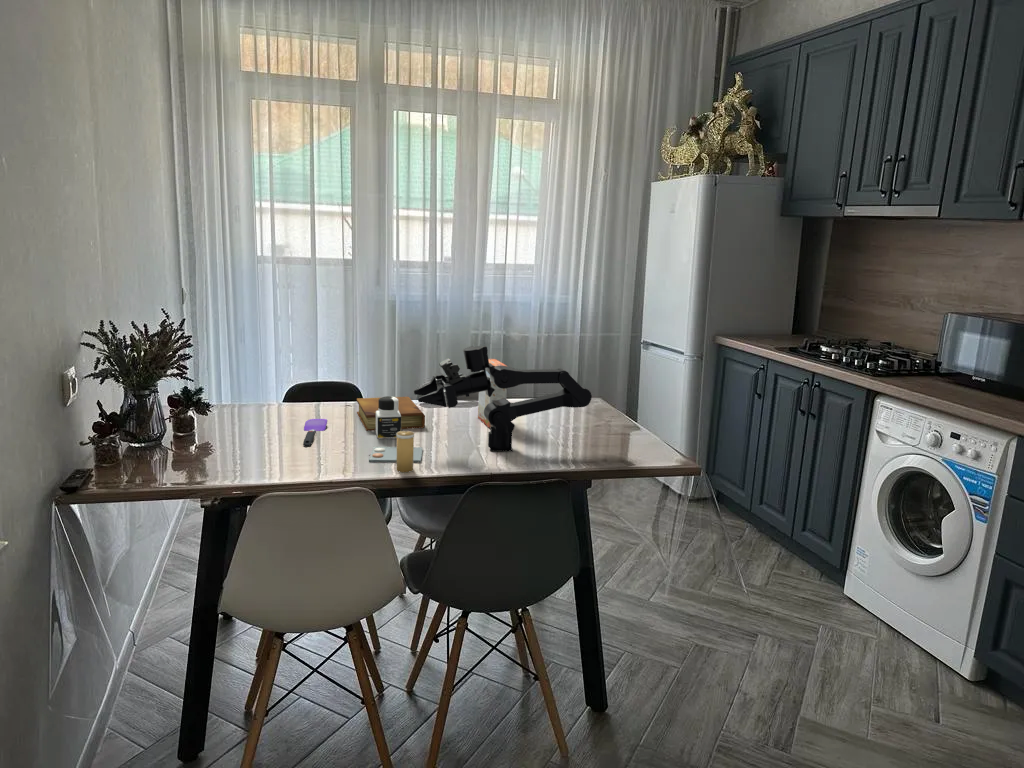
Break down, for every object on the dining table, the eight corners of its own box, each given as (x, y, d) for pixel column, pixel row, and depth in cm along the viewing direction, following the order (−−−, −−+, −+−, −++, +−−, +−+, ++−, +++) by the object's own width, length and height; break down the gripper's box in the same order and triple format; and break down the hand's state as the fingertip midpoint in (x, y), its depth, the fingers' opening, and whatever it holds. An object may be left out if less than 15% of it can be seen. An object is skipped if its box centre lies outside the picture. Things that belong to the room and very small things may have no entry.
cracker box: (506, 428, 230) (508, 365, 226) (488, 428, 228) (490, 366, 224) (494, 417, 243) (496, 358, 239) (477, 417, 241) (479, 358, 237)
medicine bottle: (377, 439, 212) (377, 400, 209) (375, 432, 219) (375, 395, 216) (401, 438, 214) (401, 400, 211) (398, 431, 221) (398, 394, 218)
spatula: (318, 448, 202) (318, 440, 201) (293, 448, 201) (293, 439, 200) (328, 426, 225) (327, 418, 225) (306, 425, 224) (306, 418, 224)
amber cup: (414, 466, 188) (414, 431, 186) (413, 472, 184) (413, 436, 182) (396, 466, 188) (397, 430, 186) (395, 472, 183) (395, 435, 181)
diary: (424, 429, 226) (425, 412, 225) (366, 432, 220) (366, 415, 219) (410, 411, 247) (410, 395, 246) (356, 414, 241) (356, 397, 240)
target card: (422, 449, 204) (422, 446, 203) (420, 462, 192) (420, 459, 192) (373, 448, 202) (373, 445, 202) (369, 461, 191) (369, 458, 190)
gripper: (458, 351, 208) (406, 362, 204) (471, 363, 190) (414, 375, 187) (464, 387, 211) (414, 398, 207) (478, 401, 193) (422, 414, 190)
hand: (416, 396), depth 198 cm, fingers open, 9 cm apart
